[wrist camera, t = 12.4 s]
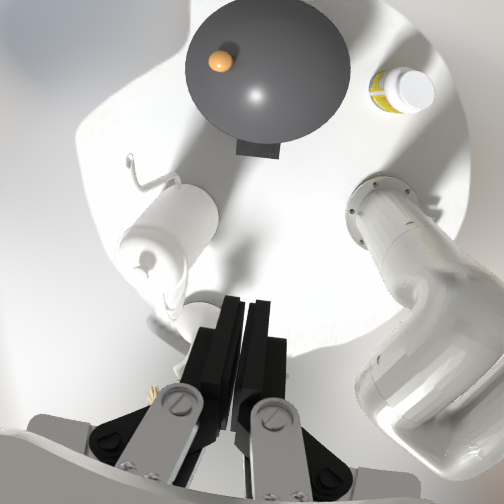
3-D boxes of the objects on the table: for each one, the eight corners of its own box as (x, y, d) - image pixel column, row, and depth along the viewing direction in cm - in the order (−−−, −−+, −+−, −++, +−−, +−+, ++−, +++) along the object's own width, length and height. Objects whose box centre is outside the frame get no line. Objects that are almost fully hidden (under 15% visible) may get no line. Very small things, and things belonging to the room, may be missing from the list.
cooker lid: (353, 10, 22) (358, 2, 19) (337, 153, 30) (341, 157, 27) (198, -1, 23) (189, -9, 21) (185, 135, 31) (175, 138, 28)
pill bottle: (409, 109, 36) (445, 114, 26) (373, 114, 37) (400, 119, 27) (400, 70, 33) (433, 63, 23) (362, 74, 34) (387, 65, 25)
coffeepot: (217, 132, 41) (171, 154, 24) (223, 279, 53) (197, 358, 36) (149, 136, 42) (76, 163, 25) (165, 275, 54) (123, 346, 37)
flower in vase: (205, 287, 54) (161, 400, 32) (246, 326, 57) (225, 440, 35) (162, 317, 59) (115, 416, 37) (201, 350, 62) (170, 450, 40)
